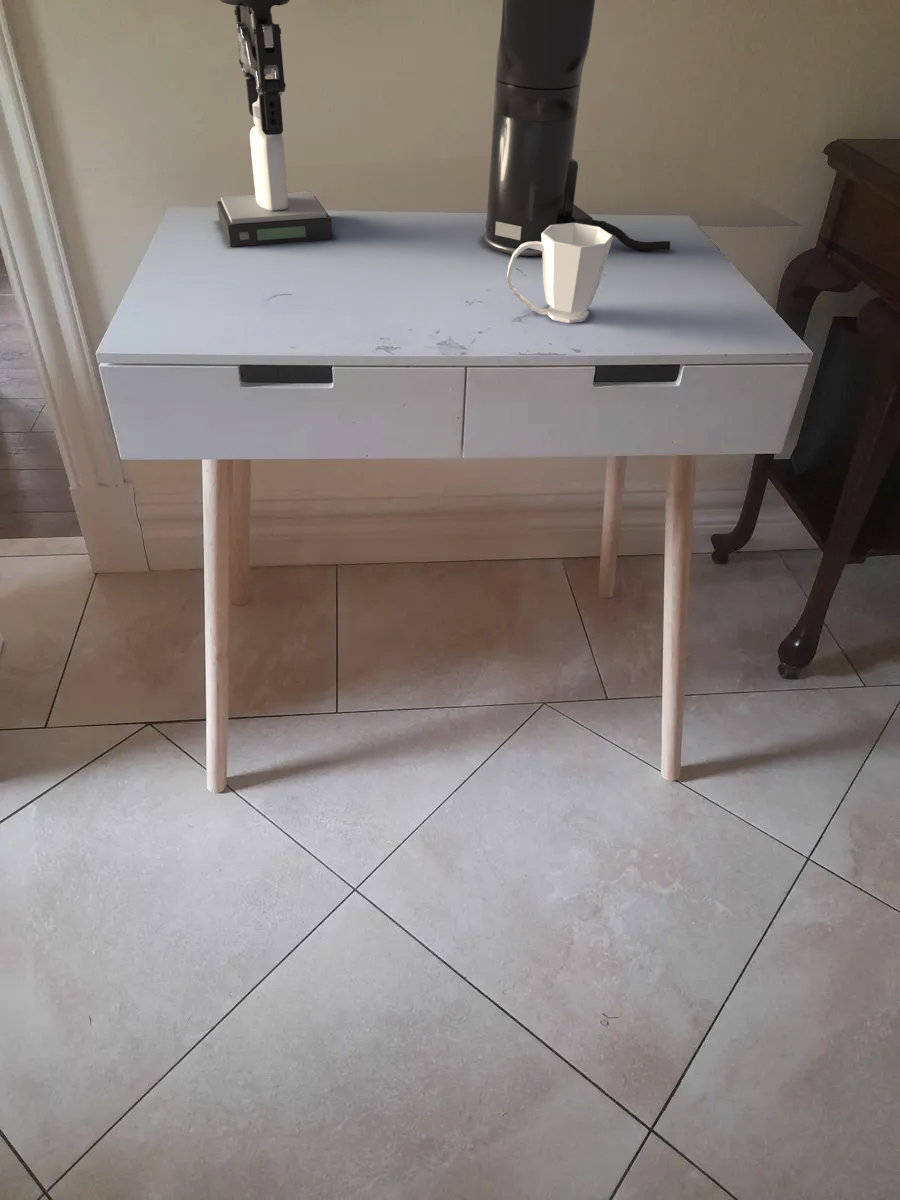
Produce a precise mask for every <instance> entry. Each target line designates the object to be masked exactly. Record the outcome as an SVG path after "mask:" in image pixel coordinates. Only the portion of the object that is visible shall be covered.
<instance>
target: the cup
mask: <svg viewBox="0 0 900 1200" xmlns="http://www.w3.org/2000/svg"><path fill="white" fill-rule="evenodd" d="M541 236H542V242H538V241H533V242H526V243H523V244H521V245H520V246H519V247H518V248H517V249H516V250H515V251H514V253H513V254H511V257H510V260H509V263H508V267H507V274H506V277H507V278H506V279H507V283H508V287H509V290H510V291H511V292H512V295H514V297H515V298H516V299H518V300H519V301H520V302H521V303H522V304H524V305H525V306H526V307H527V308H529V309H530V310H532V311H534V312H535V313H538V314H539V315H544V316H546V315H547V316H548V317H549V318H551V320H552V321H556V322H562V323H566V324H572V323H573V324H575V323H580V322H585V320H586V319H587V318H588V316H589V315H590V311H589V310H588V309H589V307H590V306H591V305H592V304H593V303H592V302H593V300H594V297H595V295H596V293H597V290H598V289H599V286H600V283H601V279H602V275H603V272H604V270H605V269H604V268H605V266H606V262H607V258H608V255H609V252H610V248H611V245H612V242H613V238H614V236H613V235H612V234H609V233H607V232H606V231H604V230H603V229H601V228H600V227H596V226H591V225H585V224H579V223H566V224H556V225H550V226H549V227H548V228H547V229H546V230H545V231H543V232H542V233H541ZM527 248H531V249H536V250H540V251H542V255H541V256H542V257H541V258H542V283H543V288H544V289H543V290H544V296H545V302H546V304H548V305H549V306H548V308H541V307H540V306H537V305H535V304H533V303H532V302H531V301H529V300H528V299H527V298H526V297H524V295H522V294H521V293H520V292H519V291H518V289H516V287H515V286H514V285H513V282H512V278H511V276H512V271H513V266H514V264H515V261H516V259H517V257H518V256H520V255H519V254H520V253H521V252H522V251H523V250H524V249H527Z"/></svg>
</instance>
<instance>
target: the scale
mask: <svg viewBox="0 0 900 1200" xmlns="http://www.w3.org/2000/svg"><path fill="white" fill-rule="evenodd" d="M216 204H217V205H216V206H217V212H218V219H219V223H220V226H221V228H222V230H223V232H224V235H225V238H226V240H227V241H228V244H229V246H230V247H231V248H232V247H246V246H258V245H259V246H260V245H270V244H271V245H272V244H284V243H298V242H311V241H324V240H332V239H333V230H332V229H333V228H332V218H331V216H330V215H329V214H328V212H327V211H326V209H325V208H324V206H323V205H322V204H321V202H320V201H319V200H318V198H317V197H316V195H315V194H313V192H312V191H311V190H308V191H307V190H305V191H292V192H289V191H288V208H287V209H284V210H276V211H270V210H267V209H264V208H262V207H261V206H259V205H258V203H257V201H256V195H255V194H243V195H227V196H224V195H223V196H220V200H219V201H216Z"/></svg>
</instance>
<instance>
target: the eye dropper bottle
mask: <svg viewBox="0 0 900 1200" xmlns="http://www.w3.org/2000/svg"><path fill="white" fill-rule="evenodd" d="M252 107H253V116H252V117H253V124H254V125H253V126H252V127H251V129H250V131H249V144H250V154H251V163H252V174H253V185H254V195H256V201H257V203H258V205H259V206H261V207H262V208H264V209H267V210H270V211H276V210H284V209H287V208H288V193H289V191H288V179H287V166H286V165H287V164H286V155H285V153H286V152H285V143H284V137H283V133H281V134H278V135H266V134H264V132H263V131H262V126H261V115H260V105H259V95H258V100H257V101H256V102H255V103H253V104H252Z"/></svg>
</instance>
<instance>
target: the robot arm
mask: <svg viewBox="0 0 900 1200" xmlns="http://www.w3.org/2000/svg"><path fill="white" fill-rule="evenodd" d="M219 1H220V2H221V3H223V4H225V5H230V6H234V10H233V11H234V16H235V32H236V36H237V43H238V44H237V46H238V47H237V49H238V50H237V51H238V54H239V59H238V62H239V65H240V68H241V71H242V74H243V77H244V78H245V84H246V96H247V105H248V112H249V114H250V116H252V117H253V107H252V104H253V103H255V102H256V101H257V100H258V95H259V105H260V115H261V126H262V131H263V132H264V134H266V135H278V134H283V132H284V123H283V112H282V111H283V110H282V99H281V96H283V93H285V92H286V88H287V87H286V82H285V73H284V62H283V61H284V60H283V50H282V40H281V39H282V38H281V34H282V29H281V28H280V24H279V23H274V21H273V15H272V8H273V7H274V6H278V7H279V6H284V5H286V4H288V3H290V1H291V0H219ZM595 4H596V0H502V8H501V9H502V10H501V25H500V34H499V40H498V41H499V42H498V47H497V52H496V62H495V63H496V66H495V82H494V98H493V115H492V128H491V129H492V130H491V147H490V162H489V177H488V179H489V180H488V194H487V206H486V207H487V208H486V209H487V210H486V221H485V232H484V242H485V244H486V245H487V246H488V247H490V248H492V249H493V250H495V251H498V252H501V253H504V254H509V255H513V253H514V251H515V250H516V249H517V248H518V247H519V246H520V245H521V244H523V243H526V242H533V241H538V242H542V236H541V233H542V232H543V231H545V230H546V229H547V228H548V227H549V226H550V225H556V224H566V223H579V224H585V225H591V226H596V227H600V228H601V229H603V230H604V231H606V232H607V233H609V234H610V235H612V236H613V237H615V238H616V239H617V240H618V241H619V242H620V243H622V245H624V246H625V247H627V248H629V249H633V250H637V251H644V252H645V251H670V248H671V241H670V240H659V241H641V240H637V239H634V238H632V237H630V236H629V235H628V234H626V233H625V232H624V231H623V230H622V229H621V228H619V227H618V226H616V225H614V224H611V223H608V222H605V221H602V220H597V219H593V218H594V217H592V216H590V214H588V213H587V212H586V211H584V210H583V209H581V208H580V207H578V206H577V205H576V204H575V194H576V187H577V181H578V180H577V179H578V170H579V163H578V161H577V160H576V159H574V158H573V152H574V146H575V145H574V144H575V136H576V126H577V119H578V109H579V102H580V94H581V93H580V92H581V83H582V76H583V69H584V65H585V61H586V58H587V55H588V52H589V47H590V41H591V33H592V26H593V18H594V12H595ZM267 75H271V76H272V77H273V78H266V77H267ZM518 256H523V257H525V256H526V257H536V256H537V257H538V256H542V251H540V250H536V249H531V248H527V249H524V250H523V251H522V252H521V253H520V254H519V255H518Z"/></svg>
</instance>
